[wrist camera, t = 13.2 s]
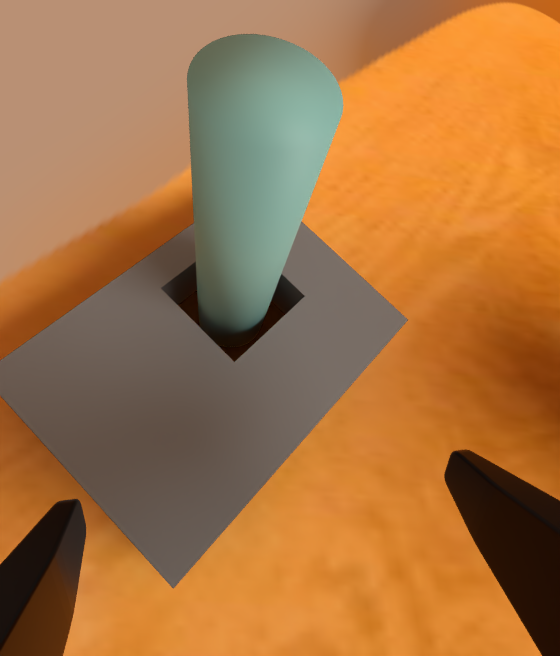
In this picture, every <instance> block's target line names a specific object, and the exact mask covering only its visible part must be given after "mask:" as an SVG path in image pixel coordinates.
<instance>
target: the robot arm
mask: <svg viewBox="0 0 560 656" xmlns="http://www.w3.org/2000/svg"><path fill="white" fill-rule="evenodd" d="M444 477H445V482H446V485H447V487H448V489H449V491H450V493H451V495H452V497H453V499H454V501H455V503H456V505H457V507H458V509H459V512H460V514H461V516H462V518H463V520H464V522H465V524H466V526H467V528H468V530H469V532H470V534H471V536H472V538H473V540H474V542H475V544H476V545H477V547H478V549H479V551H480V552H481V554H482V556H483V557H484V559H485V561H486V562H487V564H488V566H489V567H490V569H491V571H492V572H493V574H494V576H495V577H496V579H497V581H498V582H499V584H500V586H501V587H502V589H503V591H504V592H505V594H506V596H507V598H508V599H509V601H510V603H511V604H512V606H513V608H514V609H515V611H516V613H517V614H518V616H519V618H520V619H521V621H522V623H523V624H524V626H525V628H526V629H527V631H528V633H529V634H530V636H531V638H532V639H533V641H534V643H535V644H536V646H537V648H538V650H539V651H540V653H541V655H542V656H560V501H559V500H558V499H556V498H554V497H552V496H550V495H549V494H547V493H545V492H543V491H542V490H540V489H538V488H536V487H534V486H533V485H531V484H529V483H527V482H525V481H524V480H522V479H520V478H518V477H517V476H515V475H513V474H511V473H509V472H508V471H506V470H504V469H502V468H500V467H499V466H497V465H495V464H493V463H491V462H490V461H488V460H486V459H484V458H483V457H481V456H479V455H477V454H475V453H474V452H472V451H470V450H458V451H453V452H452V453H451V455H450V458H449V461H448V464H447V467H446V471H445V476H444ZM85 538H86V523H85V519H84V515H83V511H82V507H81V503H80V501H79V500H78V499H72V500H64V501H59V502H57V503H56V504H55V505H54V506H53V507H52V508H51V509H50V510H49V511H48V512H47V513H46V514H45V516H44V517H43V518H42V519H41V520H40V521H39V522H38V523H37V524H36V526H35V527H34V528H33V529H32V530H31V531H30V532H29V533H28V534H27V535H26V537H25V538H24V539H23V540H22V541H21V542H20V543H19V544H18V545H17V547H16V548H15V549H14V550H13V551H12V552H11V553H10V554H9V555H8V557H7V558H6V559H5V560H4V561H3V562H2V563H1V564H0V656H63V653H64V649H65V645H66V642H67V638H68V634H69V630H70V626H71V622H72V618H73V613H74V607H75V602H76V595H77V589H78V583H79V576H80V570H81V563H82V557H83V551H84V544H85Z"/></svg>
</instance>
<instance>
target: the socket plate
mask: <svg viewBox="0 0 560 656" xmlns="http://www.w3.org/2000/svg"><path fill="white" fill-rule="evenodd" d="M195 291H197V276H196V255H195V234H194V223H193V224H192V225H190V226H189V227H187V228H186V229H185V230H183V231H182V232H180V233H179V234H178V235H176V236H175V237H173V238H172V239H171V240H169V241H168V242H166V243H165V244H164V245H162V246H161V247H159V248H158V249H156V250H155V251H154V252H152V253H151V254H149V255H148V256H147V257H145V258H144V259H142V260H141V261H140V262H138V263H137V264H135V265H134V266H133V267H131V268H130V269H128V270H127V271H126V272H124V273H123V274H121V275H120V276H118V277H117V278H116V279H114V280H113V281H111V282H110V283H109V284H107V285H106V286H104V287H103V288H102V289H100V290H99V291H97V292H96V293H95V294H93V295H92V296H90V297H89V298H87V299H86V300H85V301H83V302H82V303H80V304H79V305H78V306H76V307H75V308H73V309H72V310H71V311H69V312H68V313H66V314H65V315H64V316H62V317H61V318H59V319H58V320H56V321H55V322H54V323H52V324H51V325H49V326H48V327H47V328H45V329H44V330H42V331H41V332H40V333H38V334H37V335H35V336H34V337H33V338H31V339H30V340H28V341H27V342H26V343H24V344H23V345H21V346H20V347H18V348H17V349H16V350H14V351H13V352H11V353H10V354H9V355H7V356H6V357H4V358H3V359H2V360H0V396H1V397H2V398H3V399H4V400H5V401H6V403H7V404H8V405H9V406H10V407H11V408H12V409H13V410H14V411H15V413H16V414H17V415H18V416H19V417H20V418H21V419H22V420H23V421H24V423H25V424H26V425H27V426H28V427H29V428H30V429H31V430H32V432H33V433H34V434H35V435H36V436H37V437H38V438H39V439H40V440H41V442H42V443H43V444H44V445H45V446H46V447H47V448H48V449H49V451H50V452H51V453H52V454H53V455H54V456H55V457H56V458H57V459H58V461H59V462H60V463H61V464H62V465H63V466H64V467H65V468H66V469H67V471H68V472H69V473H70V474H71V475H72V476H73V477H74V478H75V480H76V481H77V482H78V483H79V484H80V485H81V486H82V487H83V488H84V490H85V491H86V492H87V493H88V494H89V495H90V496H91V497H92V499H93V500H94V501H95V502H96V503H97V504H98V505H99V506H100V507H101V509H102V510H103V511H104V512H105V513H106V514H107V515H108V516H109V518H110V519H111V520H112V521H113V522H114V523H115V524H116V525H117V526H118V528H119V529H120V530H121V531H122V532H123V533H124V534H125V535H126V536H127V538H128V539H129V540H130V541H131V542H132V543H133V544H134V545H135V547H136V548H137V549H138V550H139V551H140V552H141V553H142V554H143V555H144V557H145V558H146V559H147V560H148V561H149V562H150V563H151V564H152V566H153V567H154V568H155V569H156V570H157V571H158V572H159V573H160V574H161V576H162V577H163V578H164V579H165V580H166V581H167V582H168V583H169V584H170V586H171V587H172V588H174V587H175V586H176V585H177V584H178V583H179V581H180V580H181V579H182V578H183V577H184V576H185V575H186V573H187V572H188V571H189V570H190V569H191V568H192V567H193V565H194V564H195V563H196V562H197V561H198V560H199V559H200V557H201V556H202V555H203V554H204V553H205V552H206V551H207V549H208V548H209V547H210V546H211V545H212V544H213V543H214V541H215V540H216V539H217V538H218V537H219V536H220V535H221V533H222V532H223V531H224V530H225V529H226V528H227V527H228V525H229V524H230V523H231V522H232V521H233V520H234V519H235V517H236V516H237V515H238V514H239V513H240V512H241V511H242V509H243V508H244V507H245V506H246V505H247V504H248V503H249V501H250V500H251V499H252V498H253V497H254V496H255V494H256V493H257V492H258V491H259V490H260V489H261V488H262V486H263V485H264V484H265V483H266V482H267V481H268V480H269V478H270V477H271V476H272V475H273V474H274V473H275V472H276V470H277V469H278V468H279V467H280V466H281V465H282V464H283V462H284V461H285V460H286V459H287V458H288V457H289V456H290V454H291V453H292V452H293V451H294V450H295V449H296V448H297V446H298V445H299V444H300V443H301V442H302V441H303V440H304V438H305V437H306V436H307V435H308V434H309V433H310V432H311V430H312V429H313V428H314V427H315V426H316V425H317V424H318V422H319V421H320V420H321V419H322V418H323V417H324V416H325V414H326V413H327V412H328V411H329V410H330V409H331V408H332V406H333V405H334V404H335V403H336V402H337V401H338V399H339V398H340V397H341V396H342V395H343V394H344V393H345V391H346V390H347V389H348V388H349V387H350V386H351V385H352V383H353V382H354V381H355V380H356V379H357V378H358V377H359V375H360V374H361V373H362V372H363V371H364V370H365V369H366V367H367V366H368V365H369V364H370V363H371V362H372V361H373V359H374V358H375V357H376V356H377V355H378V354H379V353H380V351H381V350H382V349H383V348H384V347H385V346H386V345H387V343H388V342H389V341H390V340H391V339H392V338H393V337H394V335H395V334H396V333H397V332H398V331H399V330H400V329H401V327H402V326H403V325H404V324H405V323H406V322H407V321H408V319H407V318H405V317H404V316H403V315H402V314H401V313H400V312H399V311H398V310H397V309H396V308H395V307H394V306H392V305H391V304H390V303H389V302H388V301H387V300H386V299H385V298H384V297H383V296H382V295H381V294H380V293H378V292H377V291H376V290H375V289H374V288H373V287H372V286H371V285H370V284H369V283H368V282H367V281H365V280H364V279H363V278H362V277H361V276H360V275H359V274H358V273H357V272H356V271H355V270H354V269H352V268H351V267H350V266H349V265H348V264H347V263H346V262H345V261H344V260H343V259H342V258H341V257H340V256H338V255H337V254H336V253H335V252H334V251H333V250H332V249H331V248H330V247H329V246H328V245H327V244H325V243H324V242H323V241H322V240H321V239H320V238H319V237H318V236H317V235H316V234H315V233H314V232H312V231H311V230H310V229H309V228H308V227H307V226H306V225H305V224H304V223H303V222H302V221H301V224H300V226H299V229H298V231H297V234H296V237H295V239H294V242H293V245H292V247H291V250H290V252H289V255H288V258H287V260H286V263H285V266H284V268H283V271H282V273H281V276H280V279H279V281H278V284H277V287H276V289H275V292H274V294H273V297H272V300H271V301H272V302H273V303H274V304H275V305H276V306H277V307H278V308H279V309H280V310H281V311H282V312H283V313H284V314H285V315H284V316H283V317H282V318H281V319H280V320H279V321H278V322H277V323H276V324H275V325H274V326H273V327H272V328H270V329H269V330H268V331H267V332H266V333H265V334H264V335H263V336H262V337H261V338H260V339H259V340H258V341H257V342H255V343H254V344H253V345H252V346H251V347H250V348H249V349H248V350H247V351H246V352H245V353H244V354H243V355H242V356H241V357H239V358H238V359H237V360H236V361H235V362H234V361H233V360H232V359H231V358H230V357H229V356H228V355H227V354H226V353H225V352H224V351H223V350H222V349H221V348H220V347H219V346H218V345H217V344H216V343H215V342H214V341H213V340H212V339H211V338H210V337H209V336H208V335H207V334H206V333H205V332H204V331H203V330H202V329H201V328H200V327H199V326H198V325H197V324H196V323H195V322H194V321H193V320H192V319H191V318H190V317H189V316H188V315H187V314H186V313H185V312H184V311H183V310H182V309H181V308H180V307H179V306H178V305H179V304H180V303H181V302H183V301H184V300H185V299H187V298H188V297H189V296H190V295H192V294H193V293H194V292H195Z"/></svg>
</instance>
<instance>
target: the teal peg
mask: <svg viewBox="0 0 560 656" xmlns="http://www.w3.org/2000/svg"><path fill="white" fill-rule="evenodd" d="M187 88H188V108H189V128H190V129H189V130H190V151H191V172H192V192H193V213H194V234H195V255H196V276H197V297H198V317H199V324H200V328H201V329H202V330H203V331H204V332H205V333H206V334H207V335H208V336H209V337H210V338H211V339H212V340H213V341H214V342H215V343H216V344H217V345H220V346H223V347H239V346H242V345H245V344H247V343H249V342H250V341H252V340H253V339H254V338H255V337H256V336H257V334H258V333H259V331H260V328H261V326H262V323H263V321H264V318H265V315H266V313H267V310H268V307H269V305H270V302H271V300H272V297H273V294H274V292H275V289H276V287H277V284H278V281H279V279H280V276H281V273H282V271H283V268H284V266H285V263H286V260H287V258H288V255H289V252H290V250H291V247H292V245H293V242H294V239H295V237H296V234H297V231H298V229H299V226H300V224H301V221H302V218H303V216H304V213H305V210H306V208H307V205H308V203H309V200H310V197H311V195H312V192H313V189H314V187H315V184H316V182H317V179H318V176H319V174H320V171H321V169H322V166H323V163H324V161H325V158H326V155H327V153H328V150H329V148H330V145H331V142H332V140H333V137H334V134H335V132H336V129H337V127H338V124H339V121H340V118H341V115H342V111H343V98H342V93H341V90H340V87H339V84H338V83H337V81H336V79H335V77H334V76H333V75H332V73H331V72H330V70H329V69H328V68H327V67H326V66H325V65H324V64H323V63H322V62H321V61H320V60H319V59H318V58H316V57H315V56H314V55H312V54H311V53H309V52H308V51H306V50H305V49H303V48H301V47H299V46H297V45H295V44H293V43H290V42H287V41H285V40H282V39H279V38H275V37H271V36H266V35H258V34H239V35H232V36H227V37H224V38H220V39H218V40H215V41H213V42H211V43H210V44H208V45H206V46H205V47H204V48H202V49H201V50H200V51H199V52H198V53H197V54H196V55H195V57H194V58H193V60H192V62H191V64H190V66H189V69H188V75H187Z"/></svg>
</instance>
